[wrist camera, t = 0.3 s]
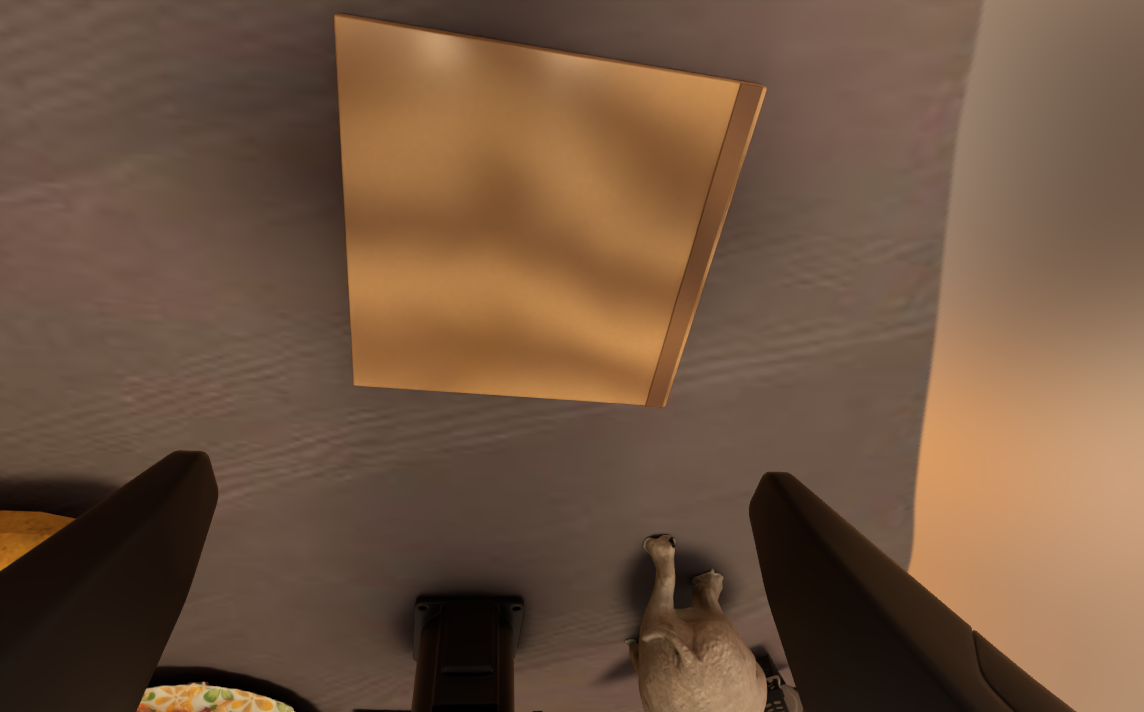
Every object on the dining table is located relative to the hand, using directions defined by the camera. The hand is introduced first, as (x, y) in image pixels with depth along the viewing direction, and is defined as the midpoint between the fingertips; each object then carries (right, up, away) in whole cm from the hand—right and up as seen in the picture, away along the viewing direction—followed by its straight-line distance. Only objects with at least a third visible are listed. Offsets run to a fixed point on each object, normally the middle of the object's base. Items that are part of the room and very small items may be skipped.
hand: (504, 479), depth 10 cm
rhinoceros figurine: (+7, -15, +29) cm, 34 cm away
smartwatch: (+15, -20, +34) cm, 42 cm away
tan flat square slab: (0, +6, +13) cm, 15 cm away
